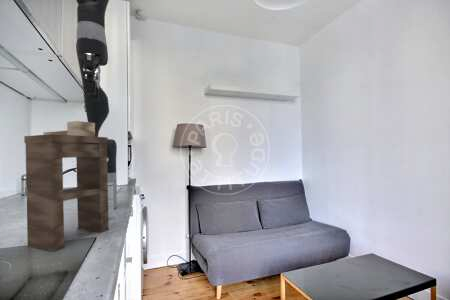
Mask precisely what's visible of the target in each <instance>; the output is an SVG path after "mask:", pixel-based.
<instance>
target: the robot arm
mask: <svg viewBox="0 0 450 300" xmlns="http://www.w3.org/2000/svg"><path fill="white" fill-rule="evenodd" d="M75 1H76V3H77V8H76V15H77V16H76V17H77V18H76V19H77V21H76V22H77V23H76V25H77V27H76V43H75V49H76V50H75V51H76V56H77V60H78V61H77V62H78V66H79V70H80V71H79V72H80V76H81V83H82V90H83V91H82V92H83V100H84V106H85V113H86V119H87V122H90V123H95V137H99V133H100V130H101V127H102V126H103V124H104V122H105V121H106V119H107V118H108V116H109V113H110V106H109V99H108V98H109V97H108V96H107V94H106V92H105V91H104V89H103V88H102V87H101V84H100V82H101V67H104V66H106V65H108V59H109V52H108V51H109V50H108V43H107V35H106V24H105V19H106V18H105V17H106V12H107V11H106V10H107V6H108V4H109V2H110V0H75ZM117 147H118V146H117V142H116V140H115V139H112V138H111V139H110V138H108V143H107V178H108V183H113V199H114V210H115V209H117V208H118V194H117V193H118V188H117V187H118V186H117V183H118V182H117V180H118V179H117V152H118V151H117V150H118V149H117Z"/></svg>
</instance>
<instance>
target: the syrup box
mask: <svg viewBox="0 0 450 300" xmlns="http://www.w3.org/2000/svg"><path fill="white" fill-rule="evenodd" d="M114 210H115V209H114V199H113V183H108V220H110V219H113V218H114V217H115V216H114V215H115V214H114V213H115V212H114Z"/></svg>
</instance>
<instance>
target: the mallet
mask: <svg viewBox="0 0 450 300" xmlns="http://www.w3.org/2000/svg"><path fill="white" fill-rule="evenodd" d="M48 134H57V135H74V136H92V137H95V123H90V122H88V121H81V120H74V121H67V122H66V130H58V131H57V130H56V131H45V132H43V134H42V135H48Z"/></svg>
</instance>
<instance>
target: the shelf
mask: <svg viewBox="0 0 450 300" xmlns="http://www.w3.org/2000/svg"><path fill="white" fill-rule="evenodd" d="M23 139H24V140H23V141H24V144H25V176H26V180H25V181H26V182H25V186H26V227H27V228H26V229H27V248H32V249H35V250H41V251H46V252H51V253H55V252H56V251H59V250H62V249H64V248H65V224H64V223H65V217H64V214H65V213H64V212H65V211H64V202H65V201H70V200H74V199H75V200H77V201H76V202H77V204H76V205H77V230H80V231H88V232H93V233H99V234H101V233H104V232H106V231H109V230H110V228H109V219H108V178H107V161H108V158H107V143H108V139H109V137H106V136H98V137H92V136H74V135H57V134H48V135H44V134H36V135H25V136H24V137H23ZM66 158H67V159H68V158H76V159H75V160H76V187H70V188H64V179H63V178H64V177H63V176H64V175H63V172H64V171H63V170H64V169H63V163H64V162H63V159H66Z"/></svg>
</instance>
